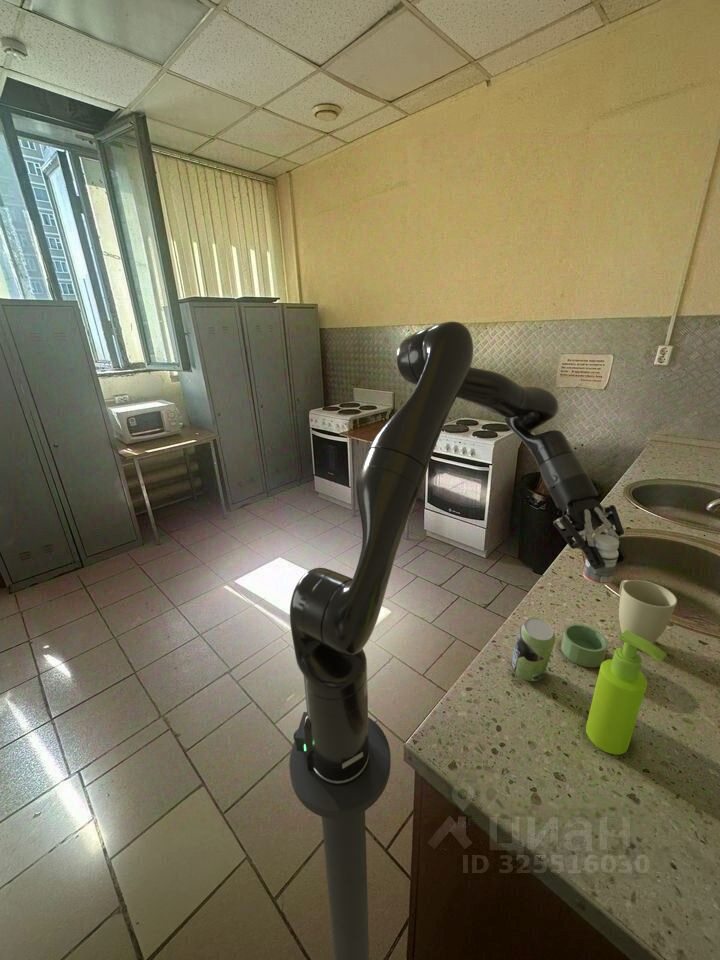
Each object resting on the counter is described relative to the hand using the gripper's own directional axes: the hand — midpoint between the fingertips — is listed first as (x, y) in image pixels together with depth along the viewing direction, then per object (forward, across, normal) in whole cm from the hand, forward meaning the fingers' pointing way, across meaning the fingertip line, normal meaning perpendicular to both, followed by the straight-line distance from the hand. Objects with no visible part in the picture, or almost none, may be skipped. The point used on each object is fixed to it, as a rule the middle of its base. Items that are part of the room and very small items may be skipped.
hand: (610, 564), depth 71 cm
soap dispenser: (+25, +11, -6) cm, 28 cm away
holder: (+14, 0, -17) cm, 22 cm away
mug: (+15, -14, -16) cm, 26 cm away
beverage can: (+15, +14, -17) cm, 26 cm away
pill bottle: (+2, 0, -4) cm, 5 cm away
